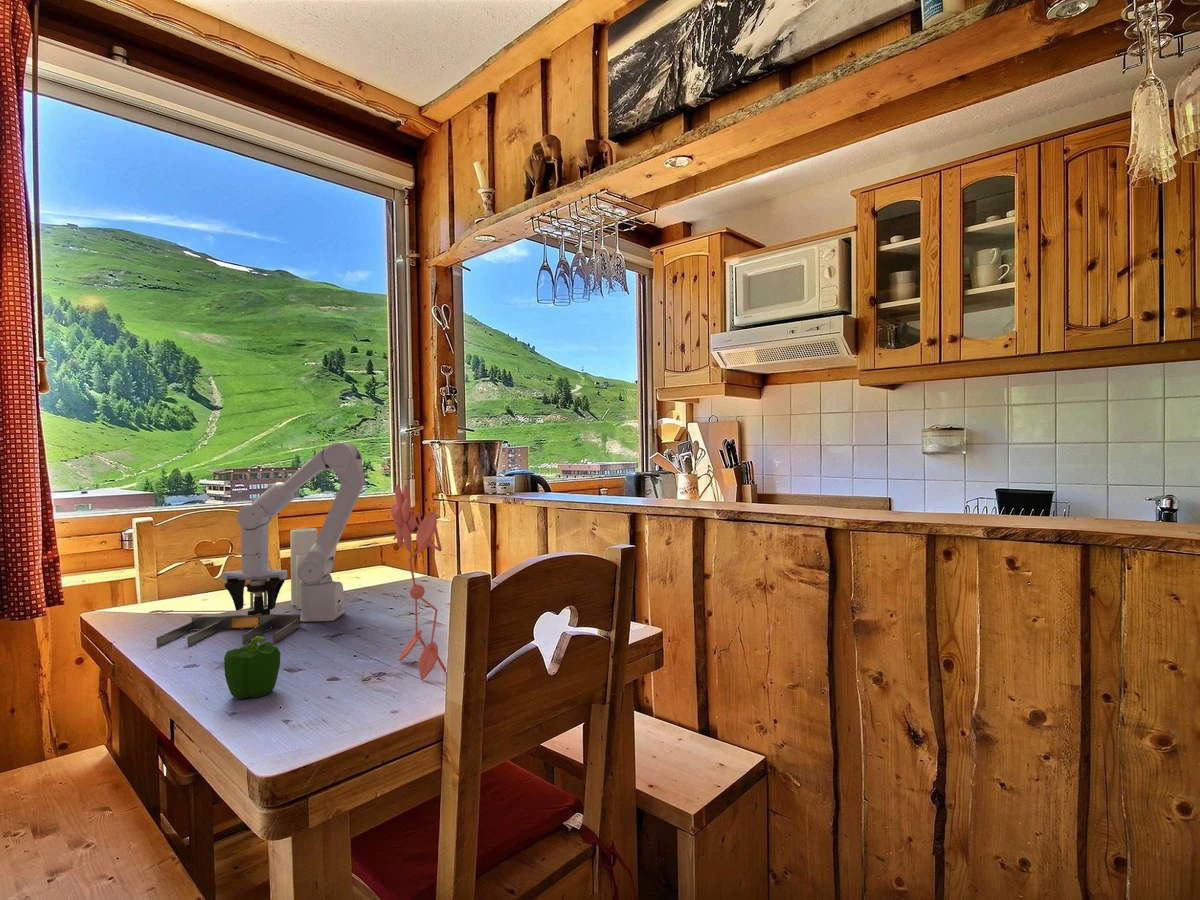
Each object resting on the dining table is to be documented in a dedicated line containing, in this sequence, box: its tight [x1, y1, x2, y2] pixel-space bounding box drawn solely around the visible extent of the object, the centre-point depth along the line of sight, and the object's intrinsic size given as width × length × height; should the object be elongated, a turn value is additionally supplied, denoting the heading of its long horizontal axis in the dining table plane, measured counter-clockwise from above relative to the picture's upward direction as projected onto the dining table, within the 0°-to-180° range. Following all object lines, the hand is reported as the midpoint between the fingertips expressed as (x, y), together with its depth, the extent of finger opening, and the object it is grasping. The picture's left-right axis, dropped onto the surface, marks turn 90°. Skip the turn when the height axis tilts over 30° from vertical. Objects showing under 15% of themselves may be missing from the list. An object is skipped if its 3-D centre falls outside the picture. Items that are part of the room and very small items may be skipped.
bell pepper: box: [223, 635, 281, 700], centre depth 103 cm, size 8×8×10 cm
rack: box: [156, 613, 302, 647], centre depth 136 cm, size 25×13×3 cm, turn 93°
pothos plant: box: [390, 483, 447, 681], centre depth 112 cm, size 15×26×35 cm, turn 32°
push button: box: [245, 579, 271, 615], centre depth 149 cm, size 7×5×10 cm
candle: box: [289, 527, 318, 610], centre depth 164 cm, size 11×7×20 cm, turn 41°
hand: (255, 609), depth 149 cm, fingers open, 7 cm apart
